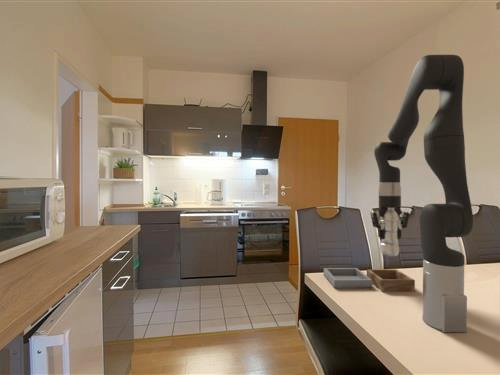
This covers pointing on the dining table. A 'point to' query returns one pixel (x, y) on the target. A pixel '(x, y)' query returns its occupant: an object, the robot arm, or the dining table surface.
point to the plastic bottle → (390, 233)
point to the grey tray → (347, 278)
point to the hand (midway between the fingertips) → (389, 238)
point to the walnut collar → (391, 280)
